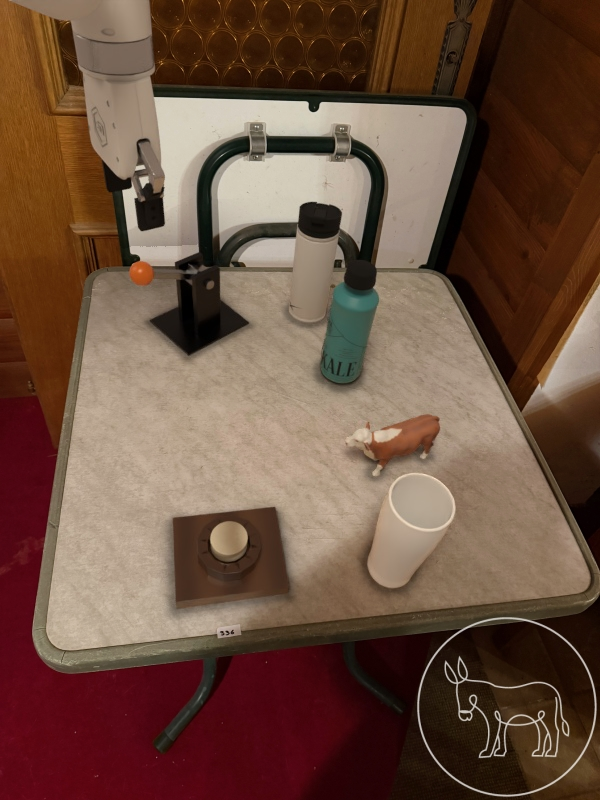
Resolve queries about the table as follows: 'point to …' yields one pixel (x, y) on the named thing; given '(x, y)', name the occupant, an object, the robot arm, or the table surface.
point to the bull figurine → (396, 439)
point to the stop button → (229, 541)
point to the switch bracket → (198, 310)
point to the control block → (228, 581)
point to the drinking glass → (409, 527)
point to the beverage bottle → (350, 323)
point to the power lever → (161, 273)
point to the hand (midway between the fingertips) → (135, 208)
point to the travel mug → (313, 261)
